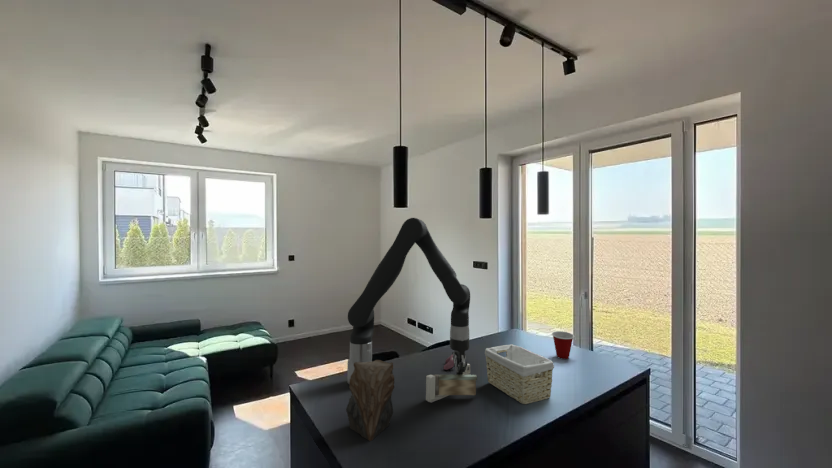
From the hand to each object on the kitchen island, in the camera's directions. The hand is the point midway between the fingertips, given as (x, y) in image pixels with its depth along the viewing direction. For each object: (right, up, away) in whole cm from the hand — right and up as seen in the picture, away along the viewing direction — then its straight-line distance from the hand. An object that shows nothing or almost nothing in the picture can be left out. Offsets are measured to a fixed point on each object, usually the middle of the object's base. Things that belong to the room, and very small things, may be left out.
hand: (459, 380), depth 133 cm
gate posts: (-4, -5, +1) cm, 7 cm away
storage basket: (+24, -6, +4) cm, 25 cm away
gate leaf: (-2, -4, -4) cm, 6 cm away
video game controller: (0, -6, +29) cm, 29 cm away
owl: (-32, -5, -25) cm, 41 cm away
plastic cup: (+59, -7, +44) cm, 74 cm away
